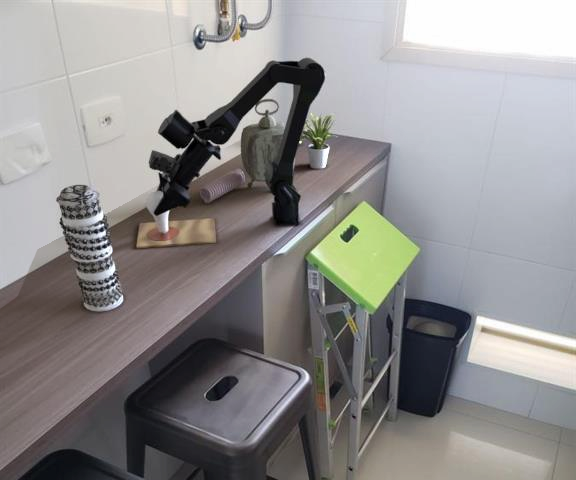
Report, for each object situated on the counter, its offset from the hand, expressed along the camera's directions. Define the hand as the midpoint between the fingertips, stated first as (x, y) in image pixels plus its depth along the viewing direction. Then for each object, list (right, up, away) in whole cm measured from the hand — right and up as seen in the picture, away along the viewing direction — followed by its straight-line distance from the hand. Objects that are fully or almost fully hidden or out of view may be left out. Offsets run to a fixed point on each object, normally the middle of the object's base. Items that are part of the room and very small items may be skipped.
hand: (153, 209), depth 149 cm
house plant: (+44, +28, +44) cm, 68 cm away
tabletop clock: (+29, +15, +29) cm, 43 cm away
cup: (+37, +41, +60) cm, 81 cm away
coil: (+15, +13, +26) cm, 33 cm away
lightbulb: (+2, -5, +5) cm, 7 cm away
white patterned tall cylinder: (-6, -26, -20) cm, 33 cm away
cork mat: (+5, -5, +6) cm, 9 cm away
